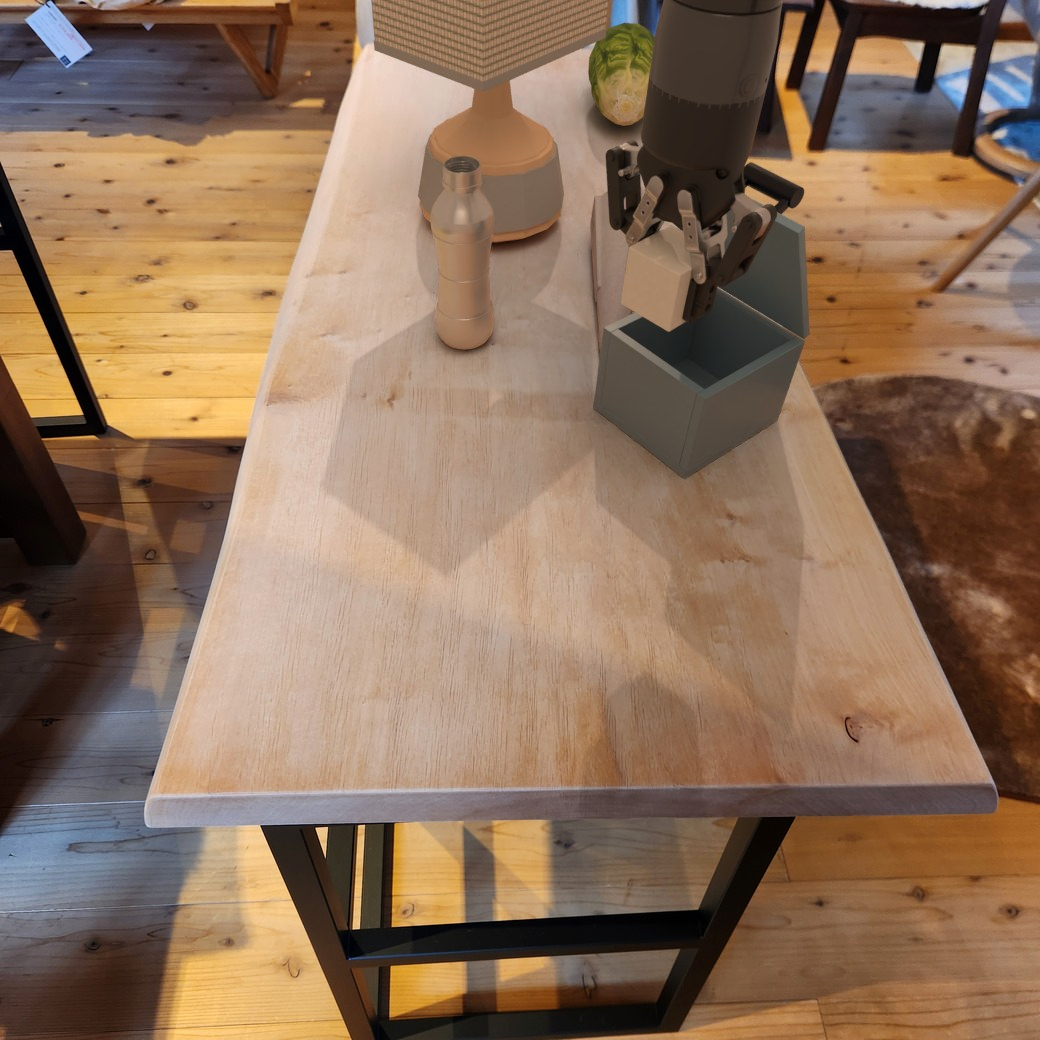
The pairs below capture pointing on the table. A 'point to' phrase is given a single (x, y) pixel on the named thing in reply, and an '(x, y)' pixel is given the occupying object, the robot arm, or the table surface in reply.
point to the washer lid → (775, 257)
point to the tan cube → (658, 278)
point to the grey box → (695, 381)
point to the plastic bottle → (463, 255)
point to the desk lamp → (492, 93)
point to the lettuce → (621, 72)
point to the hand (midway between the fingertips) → (665, 300)
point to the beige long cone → (608, 264)
